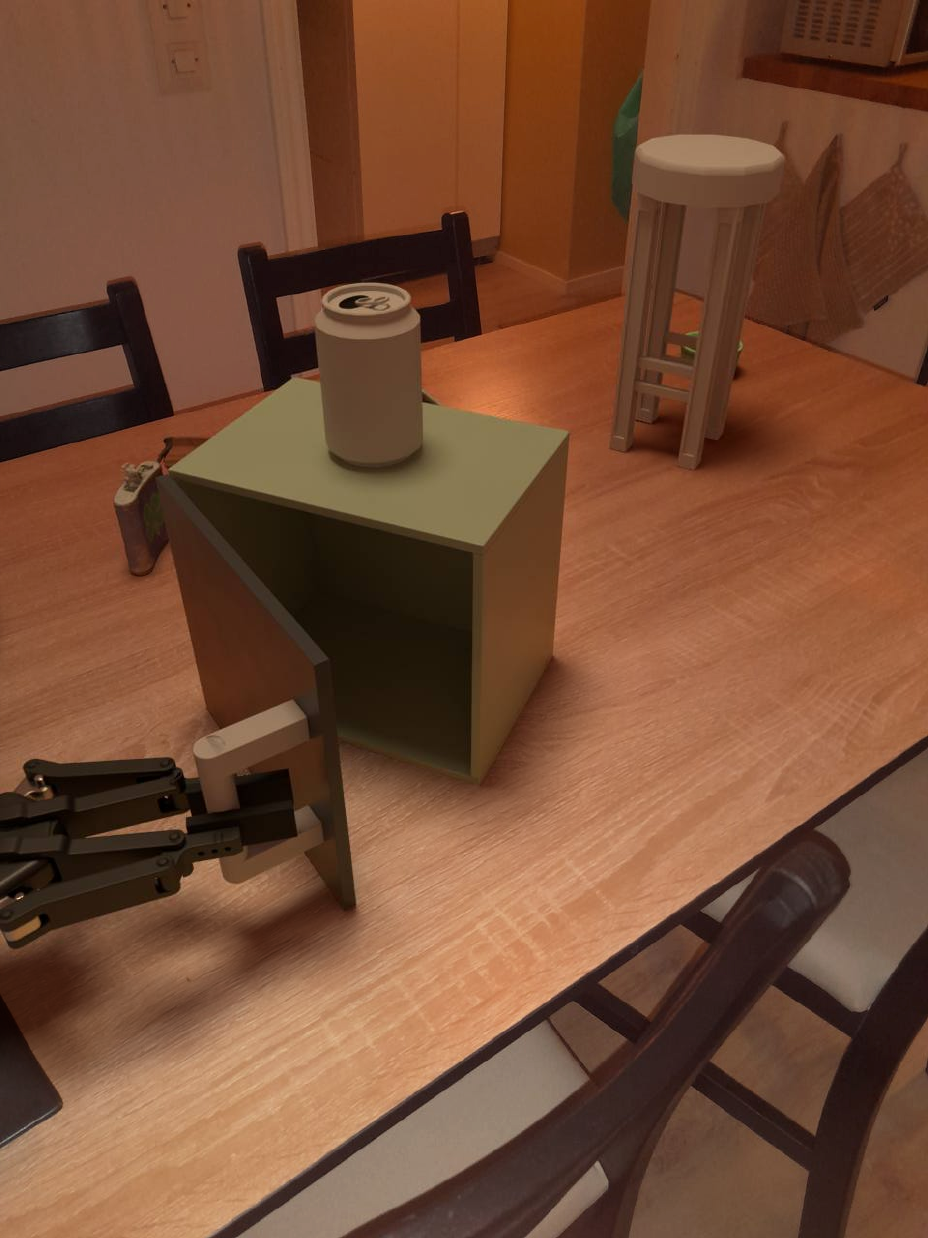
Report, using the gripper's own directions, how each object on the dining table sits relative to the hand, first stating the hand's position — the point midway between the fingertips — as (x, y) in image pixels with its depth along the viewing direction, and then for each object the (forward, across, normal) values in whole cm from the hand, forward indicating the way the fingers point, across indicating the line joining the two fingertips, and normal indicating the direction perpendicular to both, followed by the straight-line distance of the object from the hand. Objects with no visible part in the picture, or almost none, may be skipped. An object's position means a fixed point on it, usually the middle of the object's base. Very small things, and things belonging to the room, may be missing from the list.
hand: (292, 802), depth 62 cm
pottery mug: (-6, -61, -12) cm, 63 cm away
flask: (-12, -50, -12) cm, 53 cm away
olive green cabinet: (+10, -24, -12) cm, 28 cm away
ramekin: (+67, -81, -12) cm, 106 cm away
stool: (+52, -62, -12) cm, 82 cm away
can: (+10, -24, +12) cm, 28 cm away
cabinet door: (-5, -10, -12) cm, 16 cm away
